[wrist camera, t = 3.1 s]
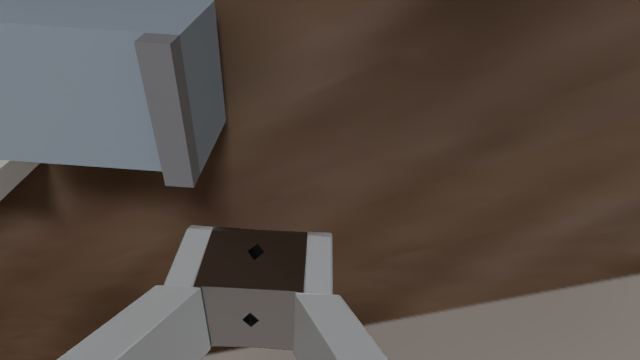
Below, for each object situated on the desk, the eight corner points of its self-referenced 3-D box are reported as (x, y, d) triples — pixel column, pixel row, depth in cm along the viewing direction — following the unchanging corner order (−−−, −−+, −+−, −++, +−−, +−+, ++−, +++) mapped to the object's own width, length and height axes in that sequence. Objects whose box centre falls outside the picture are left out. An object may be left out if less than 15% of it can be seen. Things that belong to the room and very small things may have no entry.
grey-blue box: (219, -5, 16) (170, 44, 11) (230, 112, 19) (194, 187, 14) (12, -19, 16) (-119, 24, 11) (55, 100, 19) (-35, 171, 14)
